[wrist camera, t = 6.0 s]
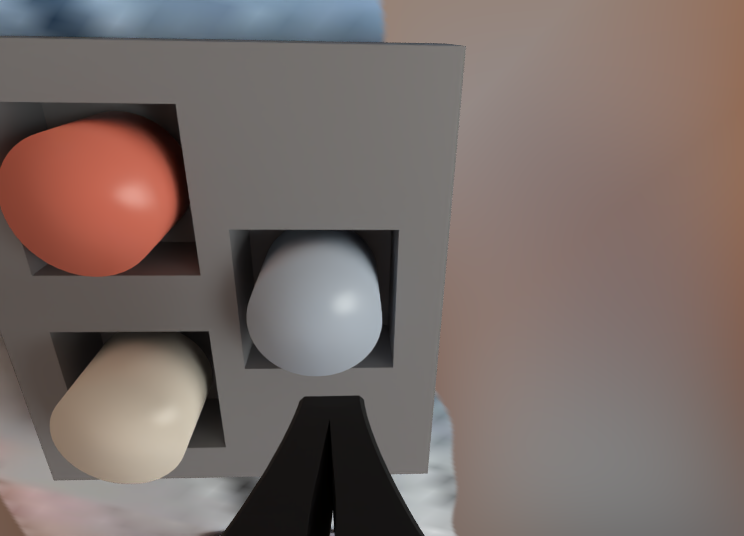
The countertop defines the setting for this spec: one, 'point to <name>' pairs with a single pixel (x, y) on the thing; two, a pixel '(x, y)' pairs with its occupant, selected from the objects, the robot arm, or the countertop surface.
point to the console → (247, 223)
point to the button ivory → (133, 407)
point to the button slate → (316, 302)
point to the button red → (94, 192)
